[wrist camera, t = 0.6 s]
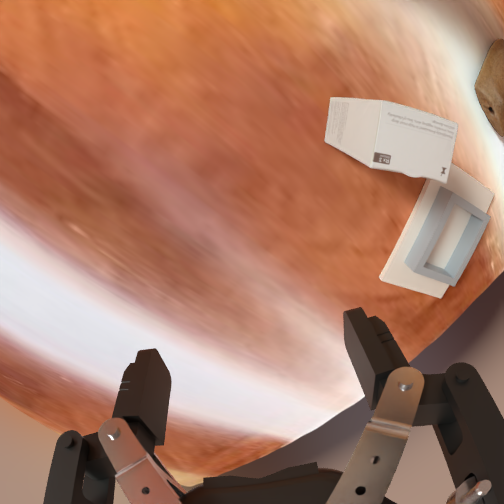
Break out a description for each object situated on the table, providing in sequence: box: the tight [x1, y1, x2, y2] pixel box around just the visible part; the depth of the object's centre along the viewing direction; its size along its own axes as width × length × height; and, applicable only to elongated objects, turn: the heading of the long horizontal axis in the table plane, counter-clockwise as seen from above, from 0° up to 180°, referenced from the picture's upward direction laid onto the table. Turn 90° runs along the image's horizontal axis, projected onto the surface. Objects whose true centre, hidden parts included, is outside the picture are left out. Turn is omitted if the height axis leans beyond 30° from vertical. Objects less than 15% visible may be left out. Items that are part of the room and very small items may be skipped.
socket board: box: [379, 163, 494, 298], centre depth 41 cm, size 20×14×4 cm
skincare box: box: [325, 97, 458, 184], centre depth 29 cm, size 8×6×15 cm
